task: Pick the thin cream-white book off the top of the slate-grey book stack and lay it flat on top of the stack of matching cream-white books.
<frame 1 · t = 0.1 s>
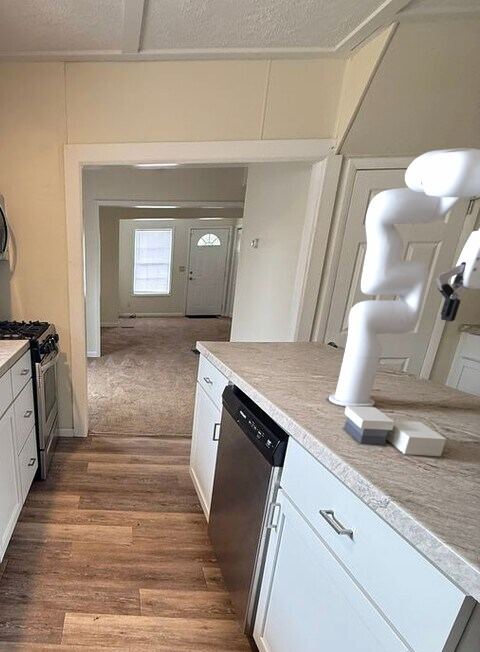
hand: (475, 320, 77), 31 cm above the countertop, tool pointing down, fingers open, 9 cm apart
grey books: (363, 435, 104), on the countertop, touching white book
white book: (367, 421, 103), point 4 cm above the countertop, touching grey books
white books: (410, 445, 98), on the countertop
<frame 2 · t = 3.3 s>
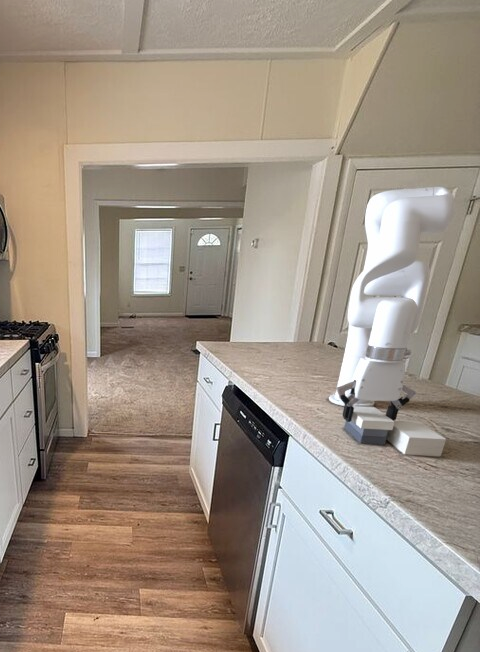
hand: (367, 421, 102), 4 cm above the countertop, tool pointing down, fingers open, 9 cm apart
white books: (409, 446, 98), on the countertop, touching gripper
everything else where it was.
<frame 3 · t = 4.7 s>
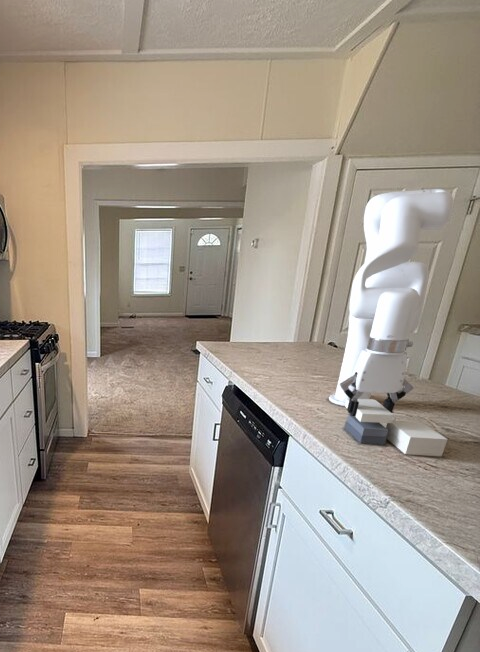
hand: (368, 414, 103), 6 cm above the countertop, tool pointing down, fingers closed on white book, 7 cm apart
grey books: (363, 435, 104), on the countertop
white book: (366, 414, 103), point 5 cm above the countertop, touching gripper
white books: (410, 445, 98), on the countertop
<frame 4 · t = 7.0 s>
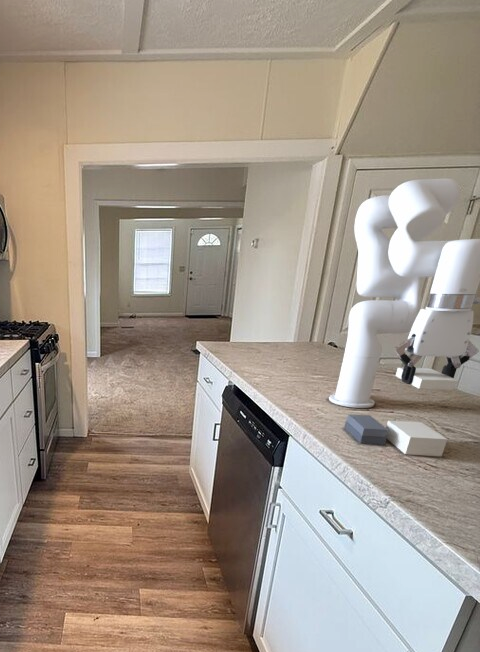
hand: (425, 382, 92), 16 cm above the countertop, tool pointing down, fingers closed on white book, 7 cm apart
white book: (423, 382, 93), point 16 cm above the countertop, touching gripper
everything else where it was.
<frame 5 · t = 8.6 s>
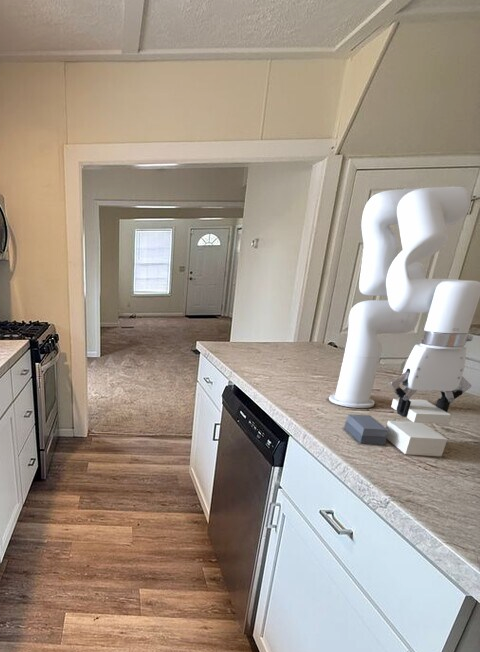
hand: (419, 415, 95), 8 cm above the countertop, tool pointing down, fingers closed on white book, 7 cm apart
white book: (418, 415, 96), point 8 cm above the countertop, touching gripper
everything else where it was.
when the fingers open (5 cm above the countertop, at t = 9.8 s): white book stays where it is, resting on white books.
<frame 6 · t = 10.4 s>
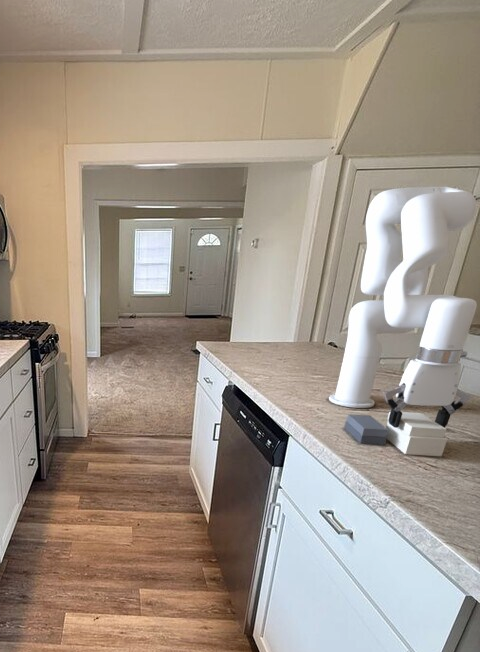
hand: (415, 426, 96), 5 cm above the countertop, tool pointing down, fingers open, 9 cm apart
white book: (413, 428, 97), point 4 cm above the countertop, touching white books
white books: (410, 445, 98), on the countertop, touching white book
everything else where it was.
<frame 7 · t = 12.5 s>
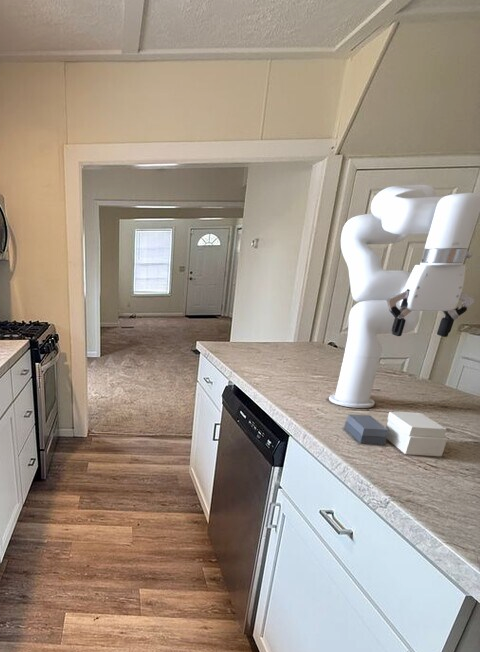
hand: (418, 335, 96), 25 cm above the countertop, tool pointing down, fingers open, 9 cm apart
nothing on the countertop moved.
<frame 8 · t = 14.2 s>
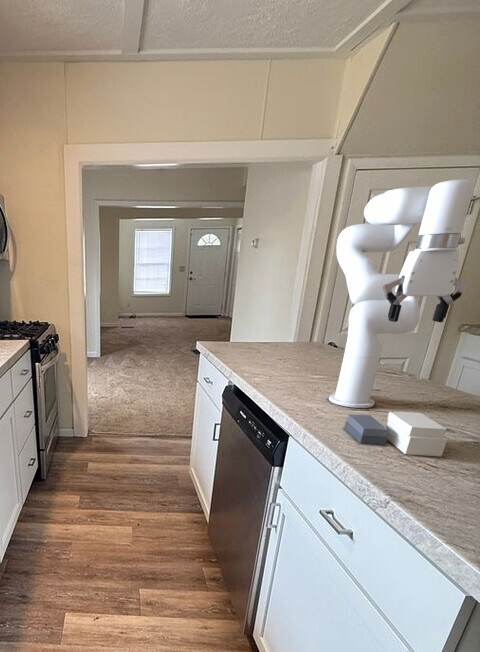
hand: (414, 321, 97), 28 cm above the countertop, tool pointing down, fingers open, 9 cm apart
nothing on the countertop moved.
at the end: white book 0.7 cm off-centre on the white books, point 4.4 cm above the white books's base; white book tilted 0°; grey books moved 0.0 cm from its start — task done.
